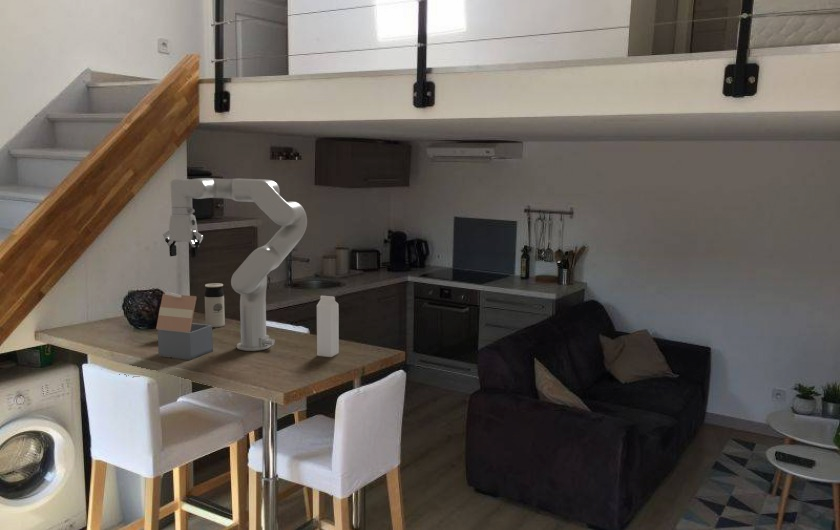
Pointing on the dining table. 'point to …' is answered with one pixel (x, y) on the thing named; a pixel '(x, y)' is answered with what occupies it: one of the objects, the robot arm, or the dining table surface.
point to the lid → (176, 312)
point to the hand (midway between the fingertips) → (183, 256)
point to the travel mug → (214, 305)
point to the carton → (186, 342)
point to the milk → (327, 326)
